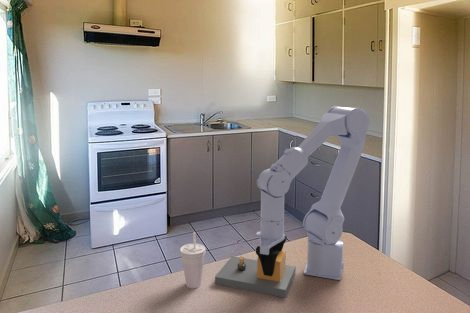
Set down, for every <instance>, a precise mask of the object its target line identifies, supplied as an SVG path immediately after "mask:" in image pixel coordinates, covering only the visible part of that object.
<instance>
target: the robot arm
mask: <svg viewBox="0 0 470 313" xmlns="http://www.w3.org/2000/svg"><path fill="white" fill-rule="evenodd" d="M370 124H371V121H370V119H369V117H368V114H367V112H366V111H365V109H363V108H361V107H345V106H344V107H343V106H338V105H334V106H332V107H330V108H329V109H328V110H327V112H326V113H324V114H323V115H322V116H321V119H320V122H318V124H317V125H316V126H315V127H314V128H313V129H312V130H311V131H310V133H309V134H308V135H307V136H306V137H305V138H304V139H303V141H302V142H301V143H300V144H299V146H297V147H294V146H293V147H292V146H291V147H290V148H286V149H285V150H284V151H283V154H282V156H281V157H280V158H279V159H278V160H277V161H276V162H275V163H272V164H271V165H270V168H267V169H264V170H263V171H261V173H260V174H259V176H258V178H257V179H256V185H257V188H258V189H259V190H260V231H257V232H256V234H255V237H256V238H259V242H260V246H259V245H258V246H256V247H255V254H256V255H257V258H258V257H259V259H260V262H261V265H262V269H263V273H264V275H267V276H272V275H273V272H274V267H275V261H276V258H277V256H278V254H279V252H280V251H283V249H284V246H285V244H286V241H287V239H288V237H287V235H286V234H285V194H287V193H288V191H289V190H290V188H291V183H292V182H293V180H294V179H295V177H296V176H297V175H299V173H300V172H301V171H302V170H304V168H305V167H306V166H307V165H308V163H309V157H310V156H311V155H312V153H314V152H315V151H316V150H318V149H319V148H320V147H321V146H322V145H323V144H325V142H326V141H328V140H329V138H331V137H333V136H334V137H336V138H337V140H338V141H339V143H340V148H339V150H338V154H337V156H336V158H335V161H334V163H333V165H332V169H331V171H330V174H329V177H328V180H327V182H326V184H325V186H324V190H323V192H322V193H321V194H322V195H321V197H320V200H318V201H317V202H314V203H313V204H312V205H311V207H310V209H309V210H308V212H307V213H306V214H305V216H304V217H303V220H302V224H303V228H304V229H305V231H306V232H307V233H306V235H307V251H306V252H307V257H306V265H305V267H304V270H303V272H302V274H304V275H308V276H313V277H320V278H324V279H325V278H326V279H329V280H335V281H341V279H342V273H343V270H344V266H345V264H344V263H345V262H344V250H345V249H344V248H345V246H344V245H345V243H344V241H342V240H340V239H341V237H342V235H343V232H344V231H343V229H344V227H343V226H344V222H345V216H344V214H343V212H342V210H341V207H342V205H343V202H344V200H345V198H346V194H347V192H348V191H349V187H350V185H351V182H352V179H353V177H354V174H355V172H356V168H357V166H358V164H359V161H360V158H361V157H362V154H363V151H364V149H365V145H366V134H367V132H368V129H369V127H370Z"/></svg>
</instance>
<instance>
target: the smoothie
mask: <svg viewBox="0 0 470 313" xmlns="http://www.w3.org/2000/svg"><path fill="white" fill-rule="evenodd" d="M196 235H197V234H196V231H193V234H192V237H193V238H192V241H193V243H192V242H191V243H187V244H184V245H182V246H181V247H180V248H179V255H180V256H181V261H182V267H183V274H184V279H185V284H186V287H187V288H188V289H198V288H199V287H201V286H202V278H203V268H204V261H205V260H204V259H205V254H206V252H207V251H206V247H205V246H204V245H203V244H201V243H197V240H196V238H197V237H196Z"/></svg>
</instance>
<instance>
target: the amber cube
mask: <svg viewBox="0 0 470 313" xmlns="http://www.w3.org/2000/svg"><path fill="white" fill-rule="evenodd" d="M286 255H287V254H286V251H283V250H282V251H280V252H279V254H278V256H277V258H276V261H275V267H274V272H273V275H272V276H267V275H264V273H263V269H262V265H261V262H260V259H259V257H258V256H257V259H256V260H257V278H262V279H267V280H273V281H278V282H280V281H281V279H282V277H283V274H284V272H285V265H286Z"/></svg>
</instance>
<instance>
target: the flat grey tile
mask: <svg viewBox="0 0 470 313" xmlns="http://www.w3.org/2000/svg"><path fill="white" fill-rule="evenodd" d="M296 268H297V267H296V266H295V265H289V264H285V272H284V274H283V277H282V279H281V281H280V282H278V281H273V280H267V279H262V278H257V259H253V258H245V256H244V255H240V256H239V257H238V256H233V255H232V256H230V258H229V259H228V261H226V262H225V264H224V265H223V266H222V267H221V269H220V270H219V271H218V273H217V274H216V275H215V276H214V284H215V285H219V286H224V287H229V288H233V289H239V290H243V291H248V292H249V291H250V292H254V293H260V294H265V295H270V296H276V297H280V298H286V297H287V295H288V293H289V290H290V287H291V286H292V283H293V281H294V278H295V275H296V271H297V269H296Z"/></svg>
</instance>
